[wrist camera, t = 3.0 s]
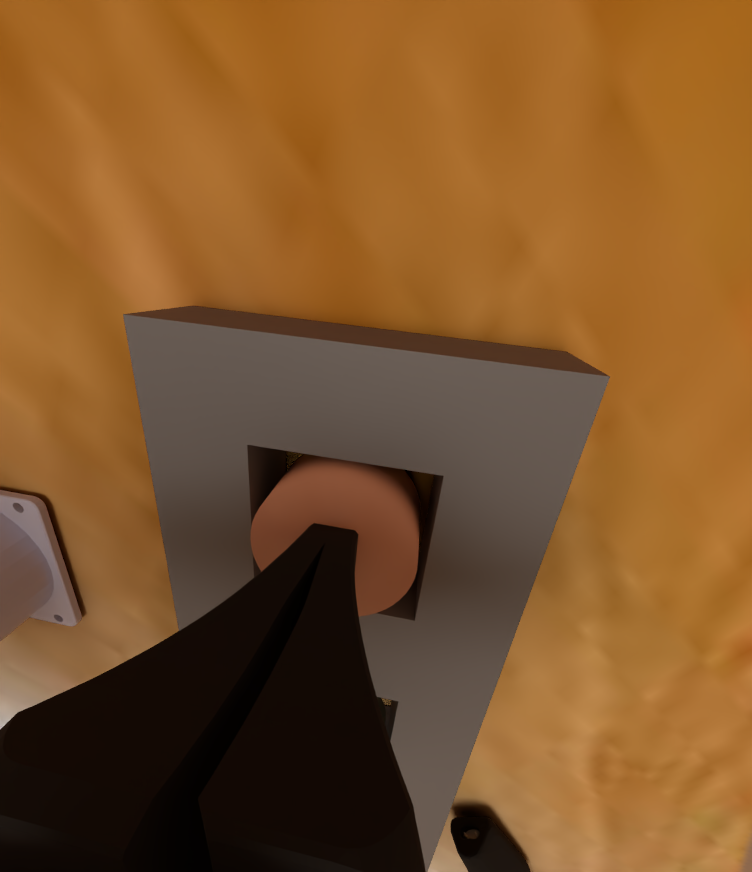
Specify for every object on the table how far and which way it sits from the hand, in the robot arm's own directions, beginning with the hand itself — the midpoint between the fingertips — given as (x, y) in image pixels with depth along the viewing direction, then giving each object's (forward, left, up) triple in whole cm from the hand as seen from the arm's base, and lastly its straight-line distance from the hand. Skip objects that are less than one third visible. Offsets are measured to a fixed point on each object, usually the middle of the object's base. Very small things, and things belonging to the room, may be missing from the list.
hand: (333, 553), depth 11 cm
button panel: (0, -10, -4) cm, 11 cm away
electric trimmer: (+12, -27, -4) cm, 30 cm away
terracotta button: (0, 0, -2) cm, 2 cm away
